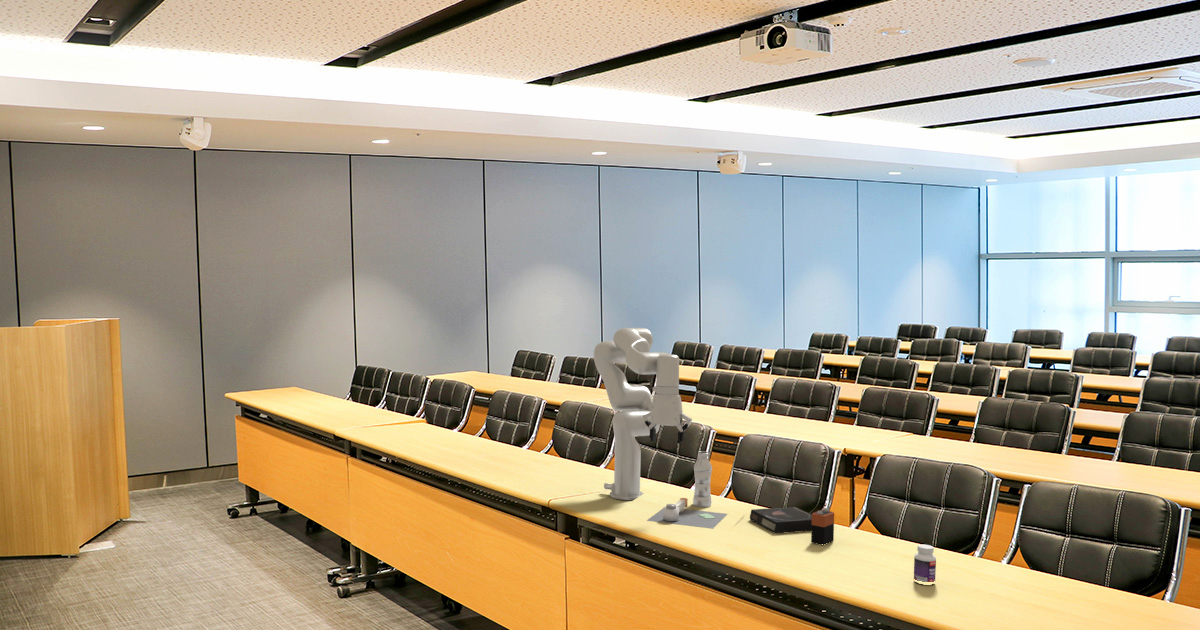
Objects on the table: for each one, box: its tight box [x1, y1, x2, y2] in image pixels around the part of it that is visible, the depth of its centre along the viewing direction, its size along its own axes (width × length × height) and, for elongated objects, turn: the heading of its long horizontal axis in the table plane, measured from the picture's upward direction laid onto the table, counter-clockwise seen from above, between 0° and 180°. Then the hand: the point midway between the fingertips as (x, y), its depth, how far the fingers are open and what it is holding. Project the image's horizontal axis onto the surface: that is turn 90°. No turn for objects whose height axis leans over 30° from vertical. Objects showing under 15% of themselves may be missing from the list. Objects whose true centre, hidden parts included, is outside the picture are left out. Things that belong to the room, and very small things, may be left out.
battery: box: [810, 507, 835, 546], centre depth 270 cm, size 4×7×10 cm, turn 138°
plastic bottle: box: [692, 450, 713, 508], centre depth 307 cm, size 6×7×20 cm
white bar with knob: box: [662, 497, 689, 521], centre depth 293 cm, size 5×18×5 cm, turn 158°
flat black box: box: [749, 506, 813, 534], centre depth 289 cm, size 16×17×4 cm
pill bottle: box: [913, 543, 937, 582], centre depth 234 cm, size 5×5×10 cm
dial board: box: [646, 508, 728, 529], centre depth 291 cm, size 22×20×2 cm
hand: (666, 441), depth 297 cm, fingers open, 9 cm apart
